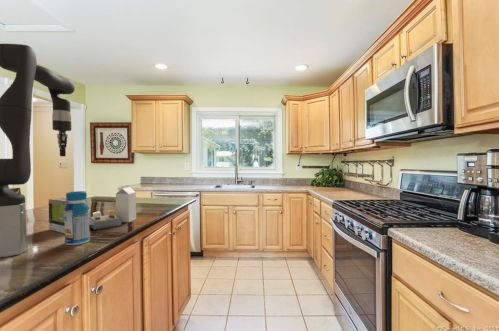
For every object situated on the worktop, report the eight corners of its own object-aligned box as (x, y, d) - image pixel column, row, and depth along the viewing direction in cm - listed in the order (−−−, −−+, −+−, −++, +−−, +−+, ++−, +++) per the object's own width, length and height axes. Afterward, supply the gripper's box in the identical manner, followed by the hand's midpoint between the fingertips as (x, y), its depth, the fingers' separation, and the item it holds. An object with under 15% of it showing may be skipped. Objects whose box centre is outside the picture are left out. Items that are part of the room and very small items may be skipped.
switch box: (121, 225, 131) (121, 216, 131) (94, 229, 123) (93, 220, 123) (113, 220, 142) (113, 212, 141) (87, 224, 134) (87, 216, 133)
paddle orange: (115, 215, 134) (115, 211, 134) (108, 215, 132) (109, 211, 132) (113, 214, 137) (113, 210, 137) (107, 214, 135) (107, 210, 135)
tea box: (87, 229, 125) (86, 198, 125) (63, 234, 116) (62, 201, 116) (71, 225, 133) (71, 196, 133) (48, 229, 124) (47, 198, 124)
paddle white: (101, 216, 130) (100, 212, 130) (94, 217, 128) (94, 213, 128) (99, 215, 132) (99, 211, 132) (93, 216, 131) (92, 212, 130)
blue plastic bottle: (84, 244, 101) (83, 193, 101) (60, 246, 99) (59, 193, 99) (93, 238, 109) (92, 190, 109) (70, 239, 108) (69, 191, 107)
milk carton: (136, 219, 144) (135, 184, 144) (129, 222, 137) (128, 186, 137) (124, 219, 145) (123, 184, 145) (116, 222, 138) (115, 186, 138)
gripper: (51, 121, 130) (52, 156, 131) (53, 118, 120) (54, 156, 121) (69, 122, 135) (70, 156, 136) (73, 119, 125) (73, 156, 126)
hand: (62, 156), depth 128 cm, fingers closed
